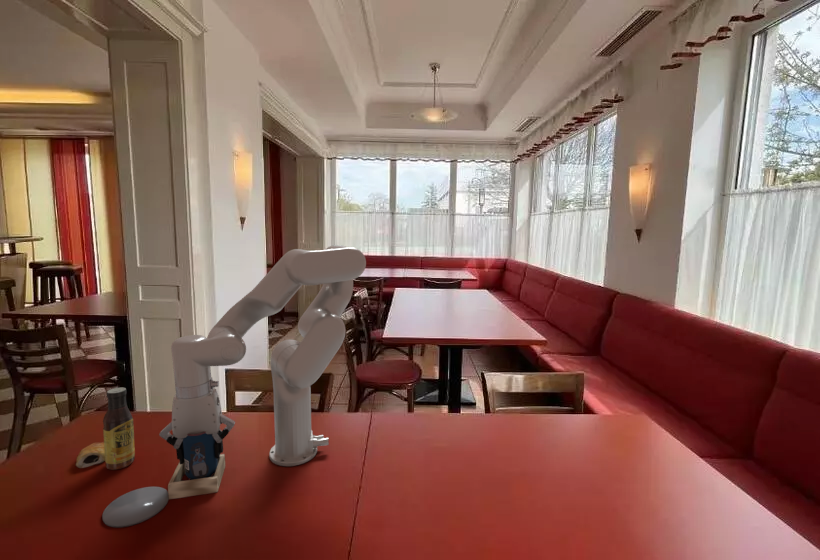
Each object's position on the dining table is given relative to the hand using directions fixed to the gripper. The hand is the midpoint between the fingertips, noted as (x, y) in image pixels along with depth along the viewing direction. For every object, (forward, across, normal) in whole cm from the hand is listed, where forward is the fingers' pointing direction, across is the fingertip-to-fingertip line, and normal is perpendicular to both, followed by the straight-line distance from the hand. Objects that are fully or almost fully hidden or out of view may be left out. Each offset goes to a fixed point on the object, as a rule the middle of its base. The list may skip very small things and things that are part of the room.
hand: (201, 457), depth 95 cm
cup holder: (+6, +1, 0) cm, 6 cm away
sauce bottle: (+6, +22, -13) cm, 26 cm away
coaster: (+6, +12, +6) cm, 15 cm away
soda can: (+5, 0, 0) cm, 5 cm away
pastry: (+6, +30, -17) cm, 35 cm away
